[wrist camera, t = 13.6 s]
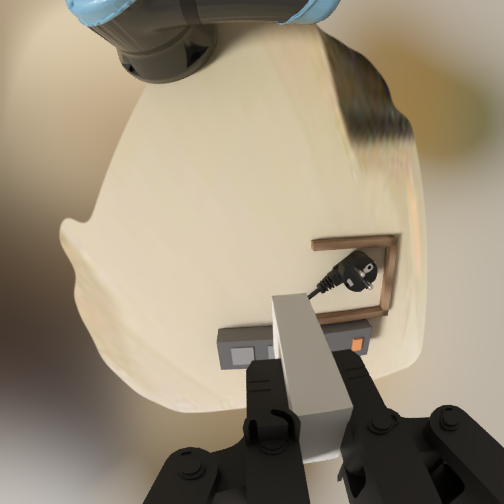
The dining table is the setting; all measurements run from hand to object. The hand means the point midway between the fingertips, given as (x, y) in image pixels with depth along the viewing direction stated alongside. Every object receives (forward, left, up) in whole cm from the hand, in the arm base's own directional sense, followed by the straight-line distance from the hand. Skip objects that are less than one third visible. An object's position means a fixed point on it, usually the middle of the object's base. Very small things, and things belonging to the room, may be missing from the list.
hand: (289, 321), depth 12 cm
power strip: (+23, +5, -30) cm, 38 cm away
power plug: (+15, +7, -27) cm, 31 cm away
